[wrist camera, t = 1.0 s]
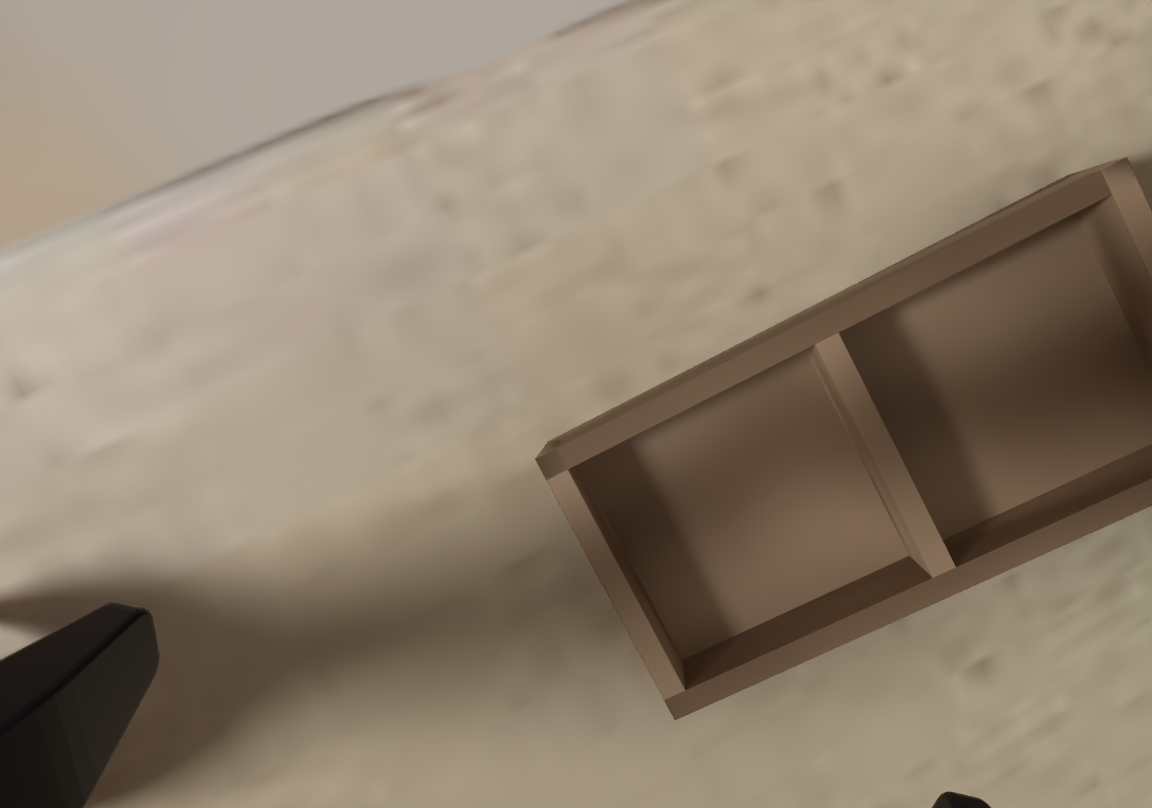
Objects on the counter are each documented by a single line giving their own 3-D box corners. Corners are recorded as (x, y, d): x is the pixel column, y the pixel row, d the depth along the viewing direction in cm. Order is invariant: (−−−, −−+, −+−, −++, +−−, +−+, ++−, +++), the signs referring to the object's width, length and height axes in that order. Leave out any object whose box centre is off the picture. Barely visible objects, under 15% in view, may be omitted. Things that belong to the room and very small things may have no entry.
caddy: (1191, 436, 21) (1265, 454, 19) (671, 674, 23) (675, 720, 21) (1067, 175, 21) (1126, 157, 18) (547, 441, 23) (535, 459, 20)
